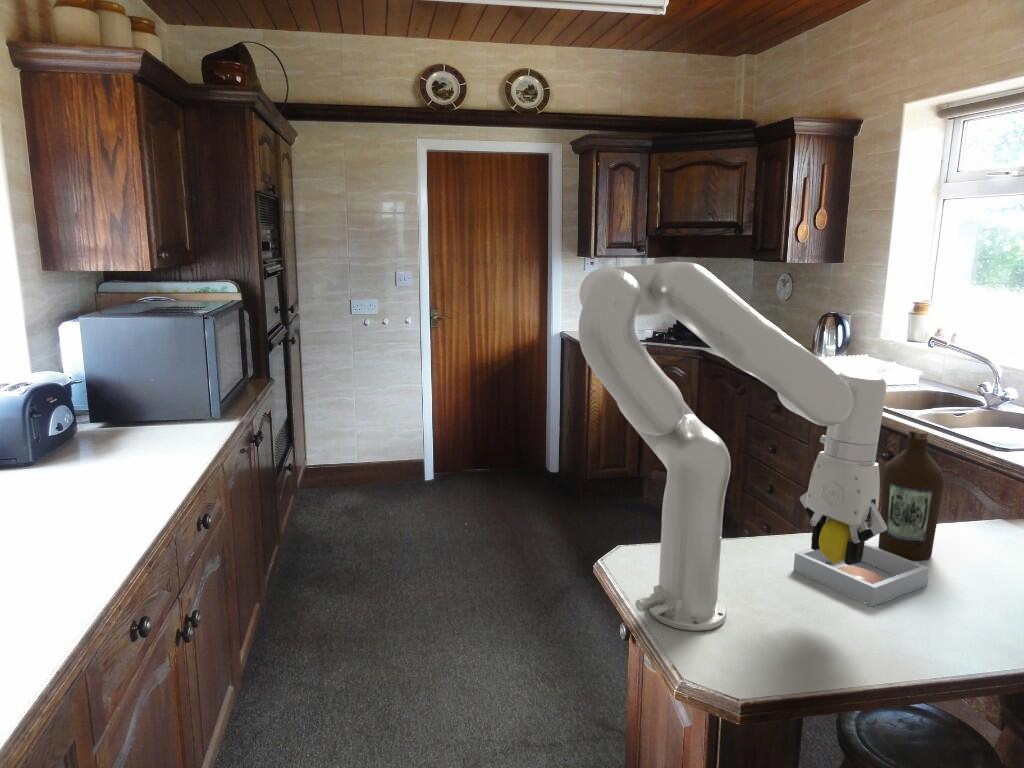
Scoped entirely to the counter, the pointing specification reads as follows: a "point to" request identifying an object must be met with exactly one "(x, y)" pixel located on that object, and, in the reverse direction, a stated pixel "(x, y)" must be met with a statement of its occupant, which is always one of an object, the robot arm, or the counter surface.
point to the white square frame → (865, 574)
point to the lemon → (834, 540)
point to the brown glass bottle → (911, 500)
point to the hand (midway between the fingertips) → (835, 554)
